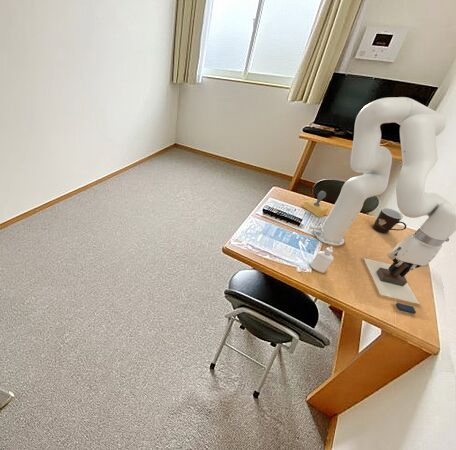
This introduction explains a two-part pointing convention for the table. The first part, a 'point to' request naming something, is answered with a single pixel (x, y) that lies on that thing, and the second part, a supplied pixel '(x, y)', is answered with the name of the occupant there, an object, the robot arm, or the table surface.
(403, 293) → the tile
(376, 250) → the table surface
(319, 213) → the rubber stamp
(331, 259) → the eye dropper bottle
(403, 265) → the handled square plate
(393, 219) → the coffee mug
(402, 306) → the eraser
